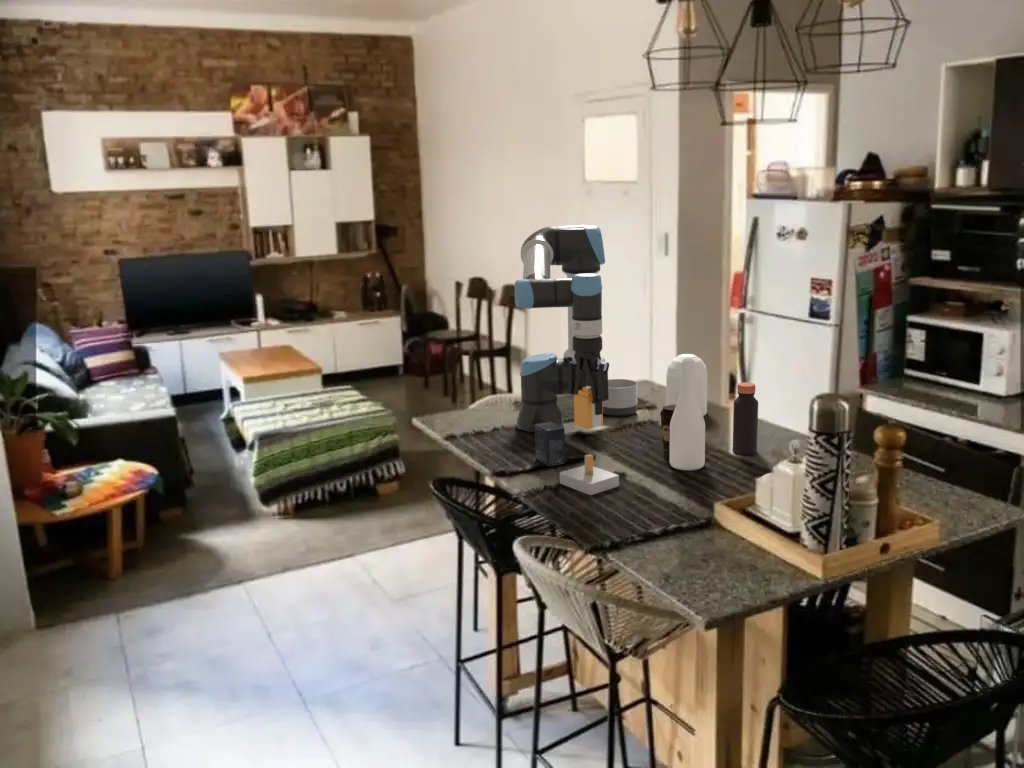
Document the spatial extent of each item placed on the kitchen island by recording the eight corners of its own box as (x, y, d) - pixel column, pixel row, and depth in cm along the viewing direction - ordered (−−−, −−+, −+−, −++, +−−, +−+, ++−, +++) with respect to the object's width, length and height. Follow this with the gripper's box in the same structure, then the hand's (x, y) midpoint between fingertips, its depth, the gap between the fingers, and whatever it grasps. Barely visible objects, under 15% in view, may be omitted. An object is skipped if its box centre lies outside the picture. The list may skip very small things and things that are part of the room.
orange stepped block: (574, 424, 234) (573, 387, 232) (589, 421, 237) (588, 383, 235) (587, 428, 230) (587, 390, 228) (602, 424, 233) (602, 387, 231)
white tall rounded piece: (684, 473, 243) (685, 365, 236) (662, 464, 252) (663, 358, 244) (711, 467, 248) (713, 360, 240) (689, 458, 256) (691, 354, 249)
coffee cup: (688, 455, 259) (689, 411, 255) (659, 454, 260) (659, 410, 257) (689, 445, 267) (689, 403, 264) (660, 445, 268) (660, 402, 265)
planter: (639, 418, 298) (639, 387, 295) (600, 419, 298) (600, 388, 295) (635, 408, 310) (635, 378, 308) (597, 409, 310) (597, 379, 308)
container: (665, 407, 310) (665, 350, 305) (705, 407, 308) (706, 349, 303) (666, 417, 297) (667, 358, 292) (708, 418, 295) (709, 358, 290)
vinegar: (758, 449, 261) (760, 382, 256) (754, 456, 255) (756, 388, 250) (735, 447, 264) (736, 380, 259) (730, 454, 258) (731, 386, 253)
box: (565, 463, 255) (564, 427, 253) (547, 466, 253) (547, 430, 250) (552, 456, 262) (551, 420, 260) (535, 459, 260) (534, 423, 257)
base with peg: (552, 480, 241) (551, 452, 240) (580, 472, 247) (580, 444, 245) (590, 495, 230) (590, 465, 228) (619, 486, 236) (618, 456, 234)
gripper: (552, 333, 233) (554, 420, 238) (601, 342, 219) (602, 434, 224) (574, 329, 237) (576, 414, 243) (623, 337, 223) (623, 428, 229)
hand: (588, 423), depth 233 cm, fingers closed on orange stepped block, 5 cm apart
